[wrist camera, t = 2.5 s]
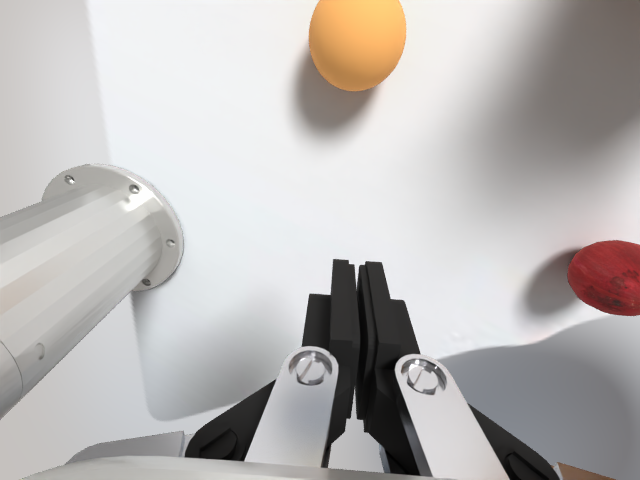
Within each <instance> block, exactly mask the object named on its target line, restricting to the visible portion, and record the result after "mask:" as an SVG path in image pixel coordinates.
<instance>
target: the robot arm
mask: <svg viewBox="0 0 640 480" xmlns="http://www.w3.org/2000/svg"><path fill="white" fill-rule="evenodd" d="M183 244H184V243H183V234H182V229H181V226H180V223H179V220H178V218H177V216H176V214H175V212H174V211H173V209H172V207H171V206H170V204H169V203H168V202H167V201H166V199H165V198H164V197H163V196H162V195H161V194H160V193H159V192H158V191H157V190H156V189H155V188H154V187H153V186H152V185H151V184H149V183H148V182H146V181H145V180H144V179H142V178H141V177H139V176H137V175H135V174H133V173H131V172H129V171H127V170H124V169H121V168H118V167H115V166H111V165H104V164H85V165H82V166H78V167H74V168H71V169H68V170H66V171H63V172H61V173H60V174H59V175H57V176H56V177H55V178H54V179H52V181H51V182H50V183H49V185H48V186H47V187H46V189H45V192H44V194H43V197H42V201H41V202H39V203H36V204H33V205H31V206H28V207H26V208H23V209H21V210H18V211H15V212H13V213H10V214H8V215H5V216H2V217H0V420H1V418H2V417H4V416H5V415H6V414H7V413H8V412H9V411H10V410H11V409H12V408H13V407H14V406H15V405H16V404H17V403H18V402H19V401H20V400H21V399H22V398H23V397H24V396H25V395H26V394H27V393H28V392H29V391H30V390H31V389H32V388H33V387H34V386H35V385H36V384H37V383H38V382H39V381H40V380H41V379H42V378H43V377H44V376H45V375H46V374H47V373H48V372H49V371H50V370H51V369H52V368H54V367H55V365H56V364H58V363H59V361H61V360H62V359H63V358H64V357H65V356H66V355H67V354H68V353H69V352H70V351H71V350H72V349H73V348H74V347H75V346H76V345H77V344H78V343H79V342H80V341H81V340H82V339H83V338H84V337H85V336H86V335H87V334H88V333H89V332H90V331H91V330H92V329H93V328H94V327H95V326H96V325H97V324H98V323H99V322H100V321H101V320H102V319H103V318H104V317H105V316H106V315H107V314H108V313H109V312H110V311H111V310H112V309H113V308H114V307H115V306H116V305H117V304H118V303H119V302H120V301H121V300H122V299H123V298H124V297H125V296H126V295H128V294H129V293H130V292H131V291H141V290H146V289H150V288H153V287H155V286H157V285H159V284H161V283H162V282H163V281H165V280H166V279H167V278H168V277H169V276H170V275H171V274H172V273H173V272H174V270H175V269H176V267H177V266H178V264H179V263H180V260H181V257H182V254H183ZM354 389H355V395H356V414H357V419H359V420H363V422H364V432H367V433H369V434H370V435H371V436H372V437H373V438H374V439H375V440H376V441H377V442H378V443H379V452H380V457H381V461H382V465H383V470H384V473H378V472H366V471H354V470H342V469H331V468H328V464H329V458H330V451H331V444H332V443H333V442H334V441H335V440H336V439H337V438H338V437H340V435H342V434H343V433H344V432H345V426H346V418H348V419H350V418H351V411H352V404H353V395H354ZM20 480H616V479H612V478H609V477H606V476H602V475H599V474H596V473H592V472H589V471H585V470H582V469H579V468H576V467H572V466H569V465H566V464H562V463H559V462H557V463H556V464H555V466H552V465H550V464H549V463H548V462H547V461H546V460H545V459H544V458H543V457H541V456H540V455H539V454H538V453H537V452H535V451H534V450H532V449H531V448H530V447H528V446H527V445H526V444H524V443H523V442H521V441H520V440H519V439H517V438H516V437H514V436H513V435H512V434H510V433H509V432H507V431H506V430H504V429H503V428H502V427H500V426H499V425H497V424H496V423H494V422H493V421H492V420H490V419H489V418H488V417H486V416H485V415H483V414H482V413H481V412H479V411H478V410H476V409H475V408H474V407H472V406H471V405H469V404H468V403H467V402H466V401H465V399H464V397H463V395H462V393H461V392H460V390H459V388H458V386H457V385H456V383H455V381H454V379H453V378H452V376H451V374H450V373H449V371H448V370H447V369H446V368H445V367H444V366H443V365H442V364H441V363H439V362H438V361H437V360H435V359H433V358H431V357H428V356H425V355H421V354H420V351H419V347H418V344H417V341H416V337H415V334H414V331H413V327H412V324H411V321H410V318H409V314H408V311H407V308H406V304H405V302H404V301H403V300H394V299H390V294H389V290H388V286H387V282H386V278H385V274H384V269H383V265H382V262H369V261H366V262H365V265H360V266H359V273H358V282H357V291H356V279H355V267H354V264H349V260H339V259H333V270H332V284H331V295H322V294H309V300H308V307H307V313H306V320H305V327H304V334H303V341H302V347H301V348H298V349H296V350H294V351H292V352H291V353H290V354H289V355H287V357H286V359H285V360H284V362H283V364H282V367H281V370H280V372H279V375H278V377H277V379H275V380H274V381H272V382H271V383H269V384H268V385H266V386H265V387H263V388H261V389H260V390H258V391H257V392H255V393H254V394H252V395H251V396H249V397H247V398H246V399H244V400H243V401H241V402H240V403H238V404H237V405H235V406H233V407H232V408H230V409H229V410H227V411H226V412H224V413H223V414H221V415H219V416H218V417H216V418H215V419H213V420H212V421H210V422H209V423H207V424H205V425H204V426H203V427H202V428H201V429H199V430H198V431H197V432H196V433H195V434H190V435H184V431H179V432H172V433H166V434H159V435H152V436H145V437H139V438H133V439H126V440H119V441H113V442H105V443H99V444H96V445H93V446H90V447H87V448H85V449H84V450H82V451H81V452H79V453H77V454H75V455H74V456H73V457H72V458H71V459H70V460H69V461H68V462H67V463H66V464H65V465H63V466H59V467H55V468H52V469H49V470H46V471H42V472H39V473H36V474H33V475H30V476H28V477H25V478H23V479H20Z"/></svg>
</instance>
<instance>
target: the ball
mask: <svg viewBox="0 0 640 480" xmlns="http://www.w3.org/2000/svg"><path fill="white" fill-rule="evenodd" d="M405 39H406V21H405V16H404V12H403V9H402V6H401V4H400V2H399V0H320V1H319V2H318V4H317V6H316V8H315V10H314V13H313V15H312V18H311V22H310V28H309V47H310V52H311V56H312V59H313V62H314V64H315V66H316V68H317V69H318V71H319V73H320V74H321V75H322V76H323V77H324V78H325V79H326V80H327V81H328V82H329V83H330V84H332V85H333V86H335V87H337V88H340V89H342V90H346V91H363V90H367V89H369V88H372V87H374V86H376V85H378V84H379V83H381V82H382V81H383V80H384V79H386V78H387V77H388V76H389V75H390V73H391V72H392V71H393V70H394V68H395V67H396V65H397V64H398V62H399V60H400V58H401V55H402V53H403V49H404V45H405Z"/></svg>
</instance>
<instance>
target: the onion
mask: <svg viewBox="0 0 640 480" xmlns="http://www.w3.org/2000/svg"><path fill="white" fill-rule="evenodd" d="M567 276H568V282H569V284H570V286H571V288H572V289H573V291H574V292H575V294H576V295H577V297H578V298H579V299H580V300H582V301H583V302H585V303H586V304H588V305H590V306H592V307H594V308H596V309H598V310H600V311H602V312H605V313H609V314H614V315H623V316H636V315H640V245H638V244H635V243H631V242H625V241H619V240H613V241H602V242H596V243H594V244H591V245H589V246H586V247H584V248H583V249H581V250H580V251H579V252H578V253H576V254H575V256H574V258H573V259H572V261H571V262H570V264H569V266H568V274H567Z"/></svg>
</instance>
